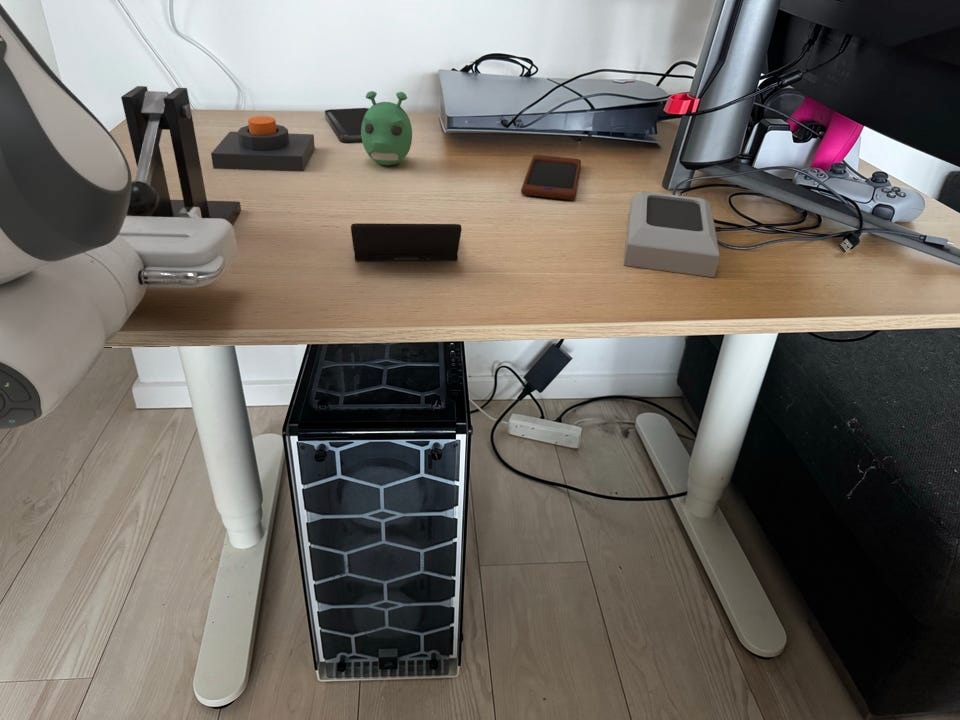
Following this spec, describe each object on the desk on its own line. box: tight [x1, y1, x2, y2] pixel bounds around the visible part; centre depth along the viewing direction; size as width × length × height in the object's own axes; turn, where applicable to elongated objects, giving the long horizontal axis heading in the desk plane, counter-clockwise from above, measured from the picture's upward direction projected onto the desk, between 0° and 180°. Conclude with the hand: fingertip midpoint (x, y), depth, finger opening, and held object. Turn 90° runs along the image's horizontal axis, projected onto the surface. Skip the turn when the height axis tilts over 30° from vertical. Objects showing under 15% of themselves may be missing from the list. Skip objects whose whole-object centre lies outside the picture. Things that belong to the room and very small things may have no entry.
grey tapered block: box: [623, 191, 721, 278], centre depth 81 cm, size 10×4×15 cm
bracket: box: [120, 85, 242, 226], centre depth 74 cm, size 12×10×15 cm
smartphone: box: [520, 154, 582, 201], centre depth 97 cm, size 7×1×15 cm
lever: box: [126, 90, 170, 217], centre depth 69 cm, size 14×4×4 cm
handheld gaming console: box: [350, 222, 463, 262], centre depth 74 cm, size 12×7×10 cm
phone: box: [324, 107, 370, 144], centre depth 113 cm, size 8×1×15 cm
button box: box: [210, 124, 316, 172], centre depth 98 cm, size 12×10×4 cm
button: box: [247, 115, 277, 135], centre depth 97 cm, size 4×4×2 cm
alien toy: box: [361, 90, 413, 167], centre depth 97 cm, size 7×8×10 cm
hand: (143, 212), depth 68 cm, fingers open, 8 cm apart
